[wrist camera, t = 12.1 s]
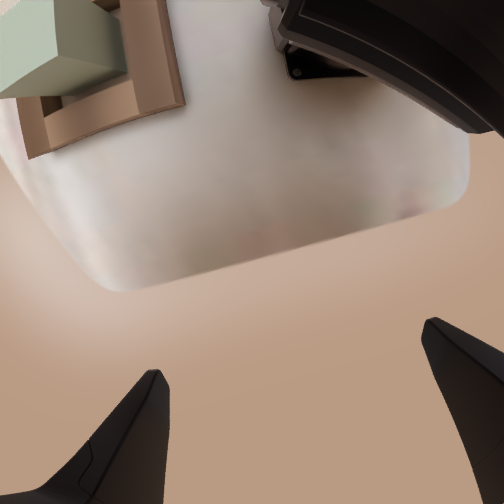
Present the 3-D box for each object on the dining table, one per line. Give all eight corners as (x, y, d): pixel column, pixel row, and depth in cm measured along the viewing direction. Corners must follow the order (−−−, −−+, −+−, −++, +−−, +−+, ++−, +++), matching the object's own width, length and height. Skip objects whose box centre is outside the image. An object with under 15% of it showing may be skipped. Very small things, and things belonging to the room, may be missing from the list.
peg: (119, 19, 13) (53, -21, 5) (128, 73, 14) (57, 55, 7) (66, 44, 13) (-14, 27, 6) (74, 95, 14) (-10, 99, 7)
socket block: (161, -27, 12) (149, -46, 9) (185, 104, 16) (175, 103, 13) (34, 31, 12) (10, 26, 9) (52, 151, 16) (28, 159, 14)
